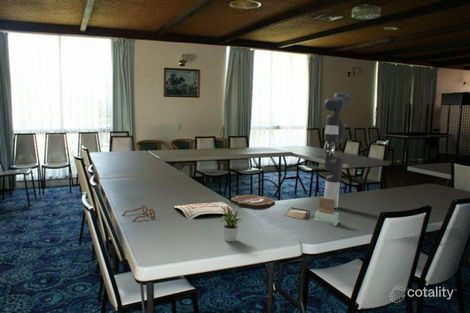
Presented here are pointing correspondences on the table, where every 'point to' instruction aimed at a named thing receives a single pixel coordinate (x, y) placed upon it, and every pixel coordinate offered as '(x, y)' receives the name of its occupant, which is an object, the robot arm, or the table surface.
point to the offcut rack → (308, 212)
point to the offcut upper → (297, 212)
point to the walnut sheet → (326, 205)
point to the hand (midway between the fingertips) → (329, 160)
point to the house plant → (230, 225)
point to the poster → (203, 209)
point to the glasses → (143, 211)
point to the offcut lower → (296, 216)
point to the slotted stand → (327, 217)
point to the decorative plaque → (253, 201)
